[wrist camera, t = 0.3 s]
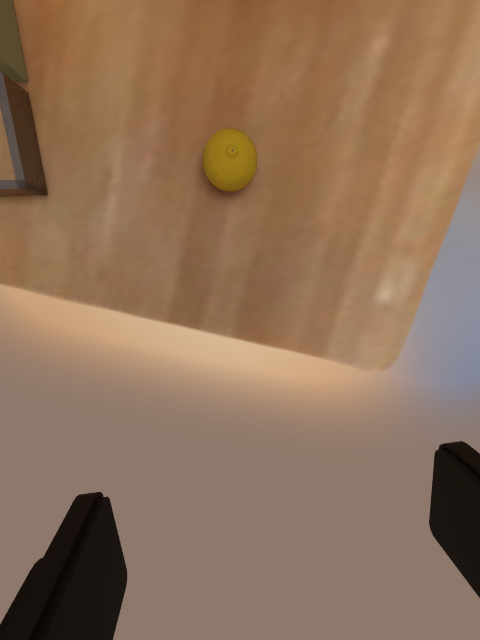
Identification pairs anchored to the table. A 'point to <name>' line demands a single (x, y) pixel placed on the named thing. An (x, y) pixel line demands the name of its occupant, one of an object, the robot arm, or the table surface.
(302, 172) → the table surface
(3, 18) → the sage green box
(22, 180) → the frame
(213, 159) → the lemon
